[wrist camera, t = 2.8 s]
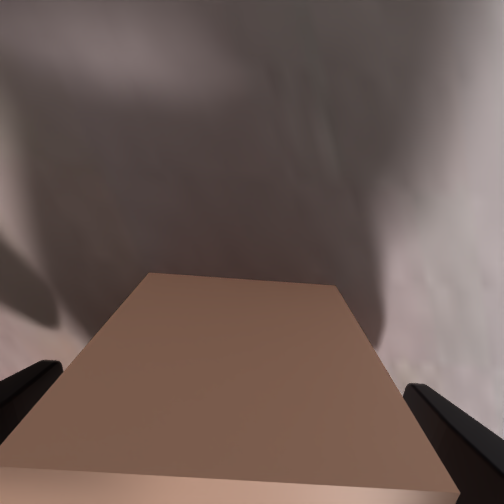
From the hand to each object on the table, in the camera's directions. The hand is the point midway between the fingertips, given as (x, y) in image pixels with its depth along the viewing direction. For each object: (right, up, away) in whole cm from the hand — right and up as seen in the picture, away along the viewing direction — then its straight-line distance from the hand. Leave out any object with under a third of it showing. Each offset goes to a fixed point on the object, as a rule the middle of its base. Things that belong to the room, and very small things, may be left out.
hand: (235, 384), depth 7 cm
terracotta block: (0, 0, +1) cm, 1 cm away
